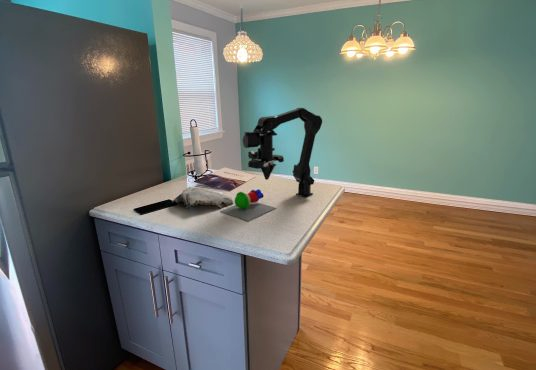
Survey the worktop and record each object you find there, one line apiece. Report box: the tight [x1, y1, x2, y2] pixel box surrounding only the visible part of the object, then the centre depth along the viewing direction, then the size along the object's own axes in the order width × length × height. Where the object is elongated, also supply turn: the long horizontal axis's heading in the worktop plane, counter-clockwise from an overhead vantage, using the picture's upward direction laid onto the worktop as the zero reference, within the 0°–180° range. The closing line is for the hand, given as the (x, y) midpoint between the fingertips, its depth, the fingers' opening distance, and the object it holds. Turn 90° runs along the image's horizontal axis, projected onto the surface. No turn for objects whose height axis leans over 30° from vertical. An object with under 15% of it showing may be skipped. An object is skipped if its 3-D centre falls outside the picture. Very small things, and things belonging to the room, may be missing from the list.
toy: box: [234, 189, 264, 209], centre depth 135 cm, size 8×8×15 cm
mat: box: [219, 201, 277, 223], centre depth 133 cm, size 18×17×1 cm
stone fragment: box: [170, 186, 235, 209], centre depth 143 cm, size 25×29×6 cm
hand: (266, 179), depth 139 cm, fingers closed
